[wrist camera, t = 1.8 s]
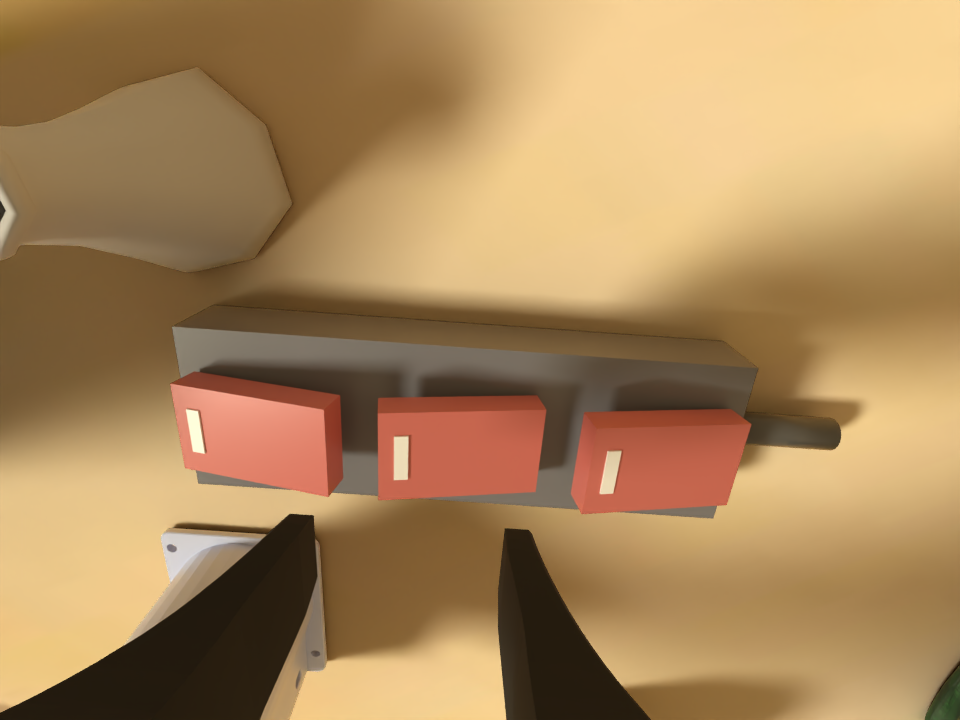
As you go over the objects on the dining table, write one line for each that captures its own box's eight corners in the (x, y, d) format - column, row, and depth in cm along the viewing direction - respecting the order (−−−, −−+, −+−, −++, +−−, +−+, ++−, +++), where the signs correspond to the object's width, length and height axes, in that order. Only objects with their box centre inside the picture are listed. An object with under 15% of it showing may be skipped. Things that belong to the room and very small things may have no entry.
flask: (203, 28, 18) (-114, -118, 8) (326, 211, 20) (185, 256, 11) (62, 141, 19) (-341, 124, 10) (192, 300, 21) (-37, 408, 12)
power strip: (789, 484, 24) (834, 532, 21) (232, 446, 24) (193, 489, 21) (838, 349, 22) (897, 381, 18) (213, 305, 21) (165, 330, 18)
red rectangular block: (708, 486, 21) (727, 506, 19) (570, 493, 19) (582, 515, 18) (730, 408, 19) (752, 425, 18) (584, 412, 18) (597, 429, 17)
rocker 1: (343, 478, 19) (327, 498, 18) (207, 452, 20) (183, 469, 19) (340, 395, 18) (322, 410, 17) (194, 371, 19) (168, 384, 18)
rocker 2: (527, 473, 21) (536, 493, 19) (378, 480, 19) (378, 501, 18) (537, 395, 19) (546, 410, 18) (378, 397, 18) (377, 414, 17)
